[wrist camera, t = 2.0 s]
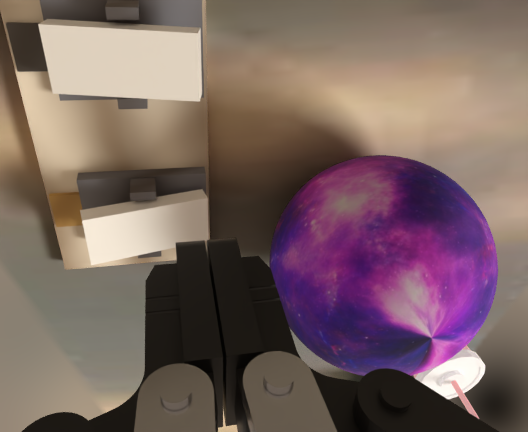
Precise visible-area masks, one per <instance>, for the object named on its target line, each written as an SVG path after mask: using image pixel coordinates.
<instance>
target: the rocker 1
mask: <svg viewBox="0 0 528 432" xmlns="http://www.w3.org/2000/svg"><path fill="white" fill-rule="evenodd" d="M38 26H39V31H40V35H41V40H42V45H43V49H44V54H45V59H46V64H47V68H48V73H49V78H50V82H51V87H52V92H53V94H69V95H88V96H106V97H124V98H142V99H161V100H179V101H197V102H199V101H200V98H201V96H202V71H201V29H200V28H197V27H180V26H162V25H145V24H128V23H111V22H93V21H76V20H59V19H46V20H45V21H43V22H41V23H39V24H38Z"/></svg>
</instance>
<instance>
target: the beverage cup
mask: <svg viewBox="0 0 528 432" xmlns="http://www.w3.org/2000/svg"><path fill="white" fill-rule="evenodd" d="M484 371H485V365H484V363H483V362H482V360H481V359H480V357H478V355H477V353H476V352H473V351H471V350H470V349H469V348H468V346H467V345H466V346H465V347H464V348H463V349H462V350H461V351H460V352H458V353H457V354H456V355H455V356H453V357H452V358H450V359H449V360H447V361H446V362H444V363H442V364H441V365H439V366H436V367H434V368H432V369H430V370H427V371H424V372H421V373H418V374H415V375H414V377H415V379H416V380H418V381H420V382H421V383H423V384H424V385H426V386H427V387H429V388H431V389H432V390H434V391H435V392H437V393H439V394H440V395H442V396H443V397H445V398H446V399H451V398H454V397H457V396H459V397H460V399H461V400H462V402H463V404H464V405H465V407H466V409H467V410H468V412H469V413H470V414H472V415H473V416H475V417H477V418H478V419H479V417H478V416H477V414H476V412H475V411H474V409H473V408H472V406H471V404H470V403H469V401H468V399H467V398H466V396H465V395H464V393H465V392H466V391H468V390H470V389H471V388H472V387H473V386H474V385H475V384H477V383H478V382H479V380H480V379H481V378H482V376H483V375H484Z"/></svg>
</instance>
